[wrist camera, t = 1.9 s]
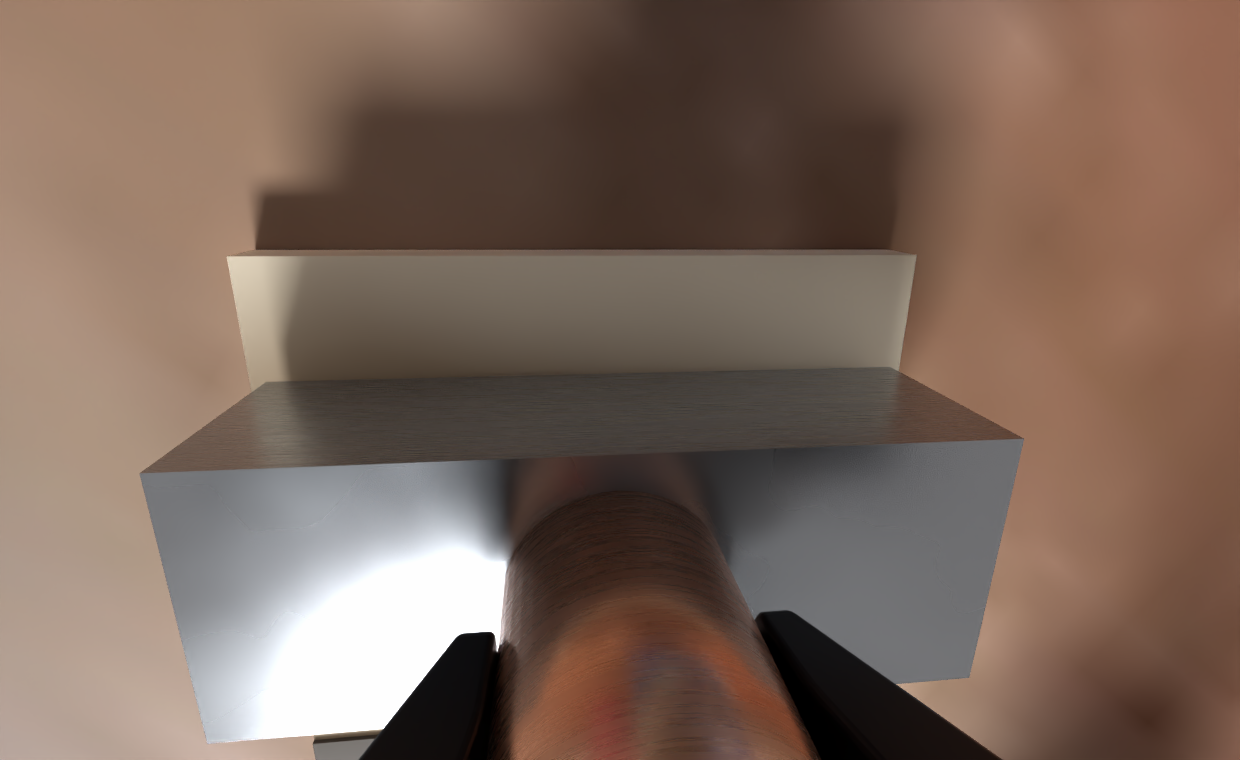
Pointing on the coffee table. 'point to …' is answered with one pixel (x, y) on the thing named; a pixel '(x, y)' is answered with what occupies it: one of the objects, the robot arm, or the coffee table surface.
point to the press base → (561, 319)
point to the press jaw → (576, 549)
